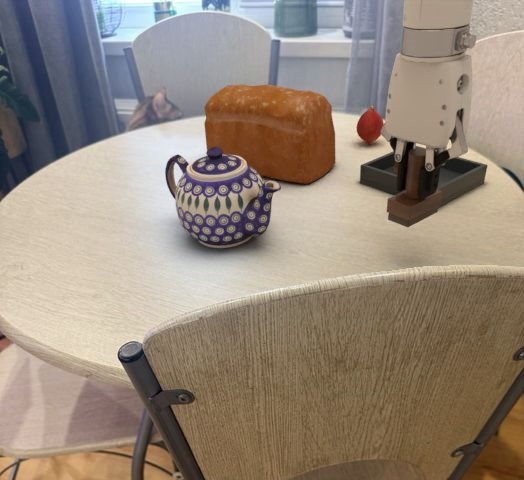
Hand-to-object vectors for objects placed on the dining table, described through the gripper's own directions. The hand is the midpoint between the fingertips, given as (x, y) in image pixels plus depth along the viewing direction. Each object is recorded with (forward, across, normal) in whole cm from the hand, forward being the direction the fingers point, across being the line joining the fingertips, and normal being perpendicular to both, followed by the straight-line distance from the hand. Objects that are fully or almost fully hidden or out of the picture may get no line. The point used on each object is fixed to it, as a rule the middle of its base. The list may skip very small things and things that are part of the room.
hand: (415, 190), depth 74 cm
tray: (+11, +16, -23) cm, 30 cm away
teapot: (+11, +27, +15) cm, 33 cm away
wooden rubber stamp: (+4, 0, 0) cm, 4 cm away
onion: (+11, +38, -33) cm, 52 cm away
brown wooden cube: (+10, +20, -23) cm, 32 cm away
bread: (+11, +45, -10) cm, 47 cm away
